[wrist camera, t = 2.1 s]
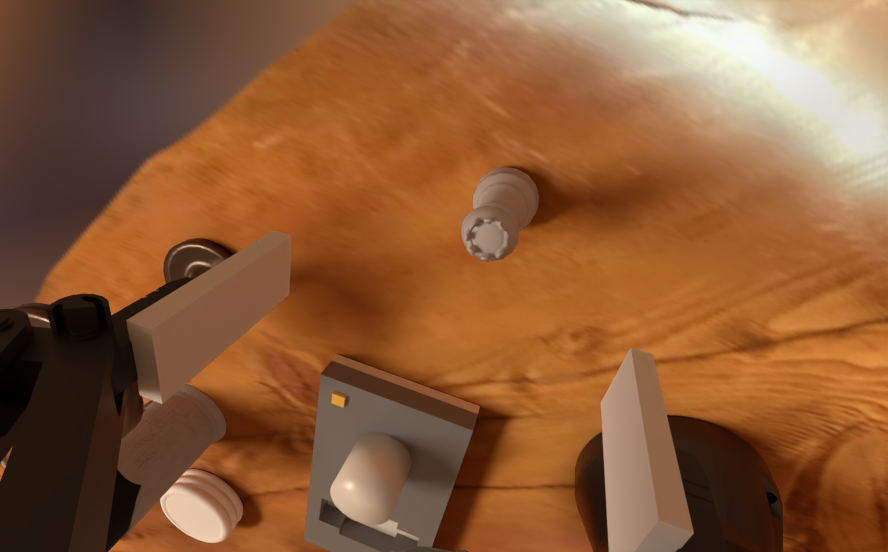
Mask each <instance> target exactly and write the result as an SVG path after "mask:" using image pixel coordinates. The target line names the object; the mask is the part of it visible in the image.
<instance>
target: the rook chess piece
mask: <svg viewBox="0 0 888 552" xmlns="http://www.w3.org/2000/svg"><path fill="white" fill-rule="evenodd" d="M538 204H539V194H538V190H537V187H536V184H535V183H534V182H533V181H532V179H531V178H530V177H529V176H528V175H527V174H526V173H524V172H522V171H520V170H518V169H516V168H507V167H502V168H498V169H495V170H492V171H490V172H489V173H487V174H486V175H485V176H484V177H483V178H481V180H480V182H479V184H478V185H477V187H476V189H475V192H474V194H473V209H474V210H473V211H471V212H470V213H469V214H468V215H466V217H465V219H464V221H463V223H462V227H461V237H462V240H463V242H464V245H465V247H466V248H467V251H468V252H469V253H470V254H471V255H472V256H473V255H475V256H477V257H479V258H480V260H481V261H488V262H489V260H491V261H494V260H498V259H503V258H505V257H506V256H507V255H509V254H510V253H512V252H513V250H514V248H515V247H516V245H517V243H518V236H519V231H520V230H522V229H523V228H524V227H526V226H527V225H529V224H530V222H531V220H532V219H533V217H534V215H535V214H536V212H537V210H538Z"/></svg>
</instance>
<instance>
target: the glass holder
mask: <svg viewBox="0 0 888 552" xmlns="http://www.w3.org/2000/svg"><path fill="white" fill-rule="evenodd" d="M143 409H144V410H143V415H142V419H141V421H140V422H139V424H138V425H137V426H136V427H135V428H134V429H133V430H132V431H131V432H129V433H128V434H127V435H126V436H125V437H124V438H122V439H121V445H120V452H119V459H118V466H117V473H116V480H115V487H114V494H113V501H112V508H111V514H110V521H109V528H108V535H107V542H106V549H105V552H108V551H109V550H110V549H111V548H112V547H113V546H114V545H115V544H116V543H117V542H118V541H119V539H120V538H121V537H122V536H123V535H124V536H123V537H125V536H126V535H127V534H128V533H129V532H130V531H131V529H132V528H133V527H134V526H135V525H136V524H137V523H138V522H139V521H140V520H141V519H142V518H143V517H144V515H145V514H146V513H147V512H148V511H149V510H150V509H151V508H152V507H153V506H154V505H155V504H156V503H157V502H158V500H159V499H160V498H161V497H162V496H163V495H164V494H165V493H166V492H167V491H168V490H169V489H170V488H171V487H172V485H173V484H174V483H175V482H176V481H177V480H178V479H179V478H180V477H181V476H182V475H183V474H184V473H185V472H186V470H187V469H188V468H189V467H190V466H191V465H192V464H193V463H194V462H195V461H196V460H197V459H198V458H199V457H200V455H201V454H202V453H203V452H204V451H205V450H206V449H207V448H208V447H209V446H210V445H211V444H212V443H214V442H216V441H219V440H220V439H221V438H223V437H224V435H225V433H226V421H225V418H224V415H223V414H222V412H221V410H220V409H219V407H218V406H217V405H216V403H215V402H214V401H213V400H212V399H211V398H209V397H208V396H207V395H206V394H205V393H203V392H202V391H200V390H198V389H197V388H195V387H192V386H190V385H187V384H185V385H184V386H183V387H182V388H181V389H179V390H178V391H177V392H176V393H175V394H174V395H173V396H171V397H170V398H169V399H168V400H167V401H166V402H164V403H163V404H161V403H158V402H156V401H153V400H151V401H149V402H148V403H146V404H144V405H143ZM7 462H8V461H7V459H6V457H4V459H3V460H2V462H1V463H2V465H3V467H4V468H5V467H6V464H7Z"/></svg>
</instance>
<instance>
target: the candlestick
mask: <svg viewBox="0 0 888 552" xmlns="http://www.w3.org/2000/svg"><path fill="white" fill-rule="evenodd" d="M231 256H233V254H232V253H231V252H230V251H228V250H227V249H226V248H224V247H223V246H221V245H219V244H217V243H215V242H213V241H209V240H206V239H197V238H195V239H189V240H186V241H184V242H182V243H180V244H178V245H176V246H174V247H173V248H172V249H171V250H169V252H168V254H167V255H166V257H165V261H164V277H165V281H166V284H167V283H168V282H171V281H174V280H177V279H181V278H184V277H189V278H192V279H195V278H197V277H198V276H200V275H201V274H203V273H205V272H206V271H208V270H210V269H211V268H213V267H215V266H216V265H218V264H219V263H221V262H223V261H224V260H226V259H228V258H229V257H231ZM49 306H50V305H48V304H42V303H25V304H22V305H20V306H17V307H15V308H13V309H14V310H20V311H23V312H24V313H26V314H28V317H29V320H30V323H31V326H34V327H44V328H51V327H50V323H49V320H48V316H47V313H46V309H47V308H48V307H49ZM126 392H127V404H126V411H125V418H124V425H123V432H122V438H124V437H125V436H126V435H127V434H128V433H129V432H131V431H132V430H133V429H134V428H135V427H136V426H137V425H138V424H139V422H140V421H141V419H142V415H143V398H142V396H141V395H140V394H139V388H138V383H137V381H136V382H135V383H133V384H132V385H131V386H129V387H128V388H127V389H126Z"/></svg>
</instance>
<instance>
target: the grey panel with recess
mask: <svg viewBox="0 0 888 552" xmlns="http://www.w3.org/2000/svg"><path fill="white" fill-rule="evenodd" d="M479 409H480V406H478V405H476V404H473V403H470V402H467V401H465V400H462V399H459V398H456V397H454V396H451V395H448V394H445V393H443V392H440V391H437V390H434V389H432V388H429V387H426V386H423V385H421V384H418V383H415V382H412V381H409V380H407V379H404V378H401V377H398V376H396V375H393V374H390V373H387V372H385V371H382V370H379V369H376V368H374V367H371V366H368V365H365V364H363V363H360V362H357V361H354V360H352V359H349V358H346V357H343V356H341V355H338V354H336V356H335V357H334V358H333V359H332V361H331V362H330V363H329V364H328V366H327V367H326V368H325V370H324V371H323V372H322V373H321V377H320V387H319V396H318V406H317V416H316V426H315V436H314V446H313V456H312V466H311V475H310V485H309V495H308V505H307V515H306V525H305V535H304V540H305V541H307V542H309V543H312V544H314V545H316V546H319V547H321V548H323V549H326V550H328V551H330V552H402V551H403V550H405V549H408V548H410V547H414V546H425V547H431V548H432V545H433V542H434V540H435V537H436V534H437V531H438V528H439V526H440V523H441V520H442V517H443V514H444V511H445V509H446V506H447V503H448V500H449V497H450V495H451V492H452V489H453V486H454V483H455V481H456V478H457V475H458V472H459V469H460V467H461V464H462V461H463V458H464V455H465V453H466V450H467V447H468V444H469V441H470V439H471V436H472V433H473V430H474V426H475V423H476V419H477V416H478V412H479Z"/></svg>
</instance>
